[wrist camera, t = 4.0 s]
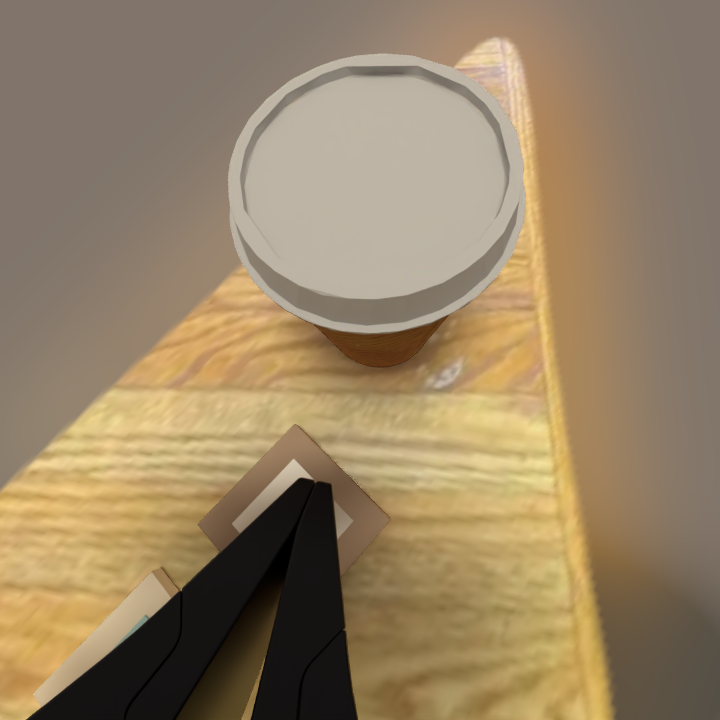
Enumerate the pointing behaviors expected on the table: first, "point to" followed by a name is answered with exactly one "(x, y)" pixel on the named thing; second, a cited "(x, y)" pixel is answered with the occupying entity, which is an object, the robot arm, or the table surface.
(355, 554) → the walnut marker tile
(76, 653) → the birch marker tile
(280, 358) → the table surface
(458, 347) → the table surface
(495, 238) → the disposable coffee cup
